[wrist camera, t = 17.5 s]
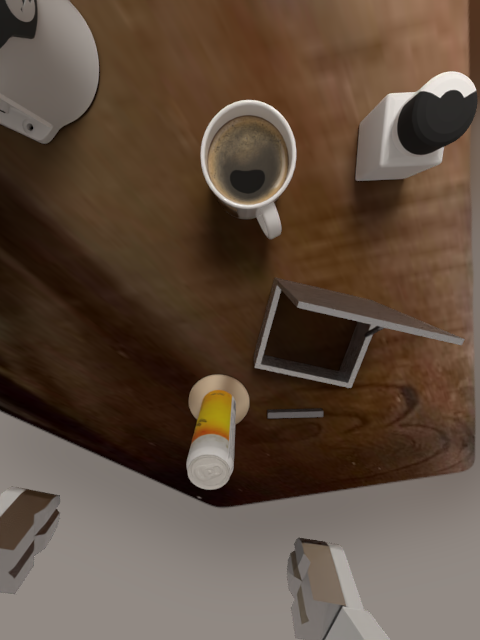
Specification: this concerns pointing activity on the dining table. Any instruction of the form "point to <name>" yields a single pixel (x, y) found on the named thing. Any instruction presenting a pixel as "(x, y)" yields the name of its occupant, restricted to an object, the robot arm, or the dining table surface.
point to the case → (343, 306)
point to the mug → (249, 161)
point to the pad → (219, 383)
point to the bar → (294, 413)
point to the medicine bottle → (414, 128)
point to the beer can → (213, 441)
